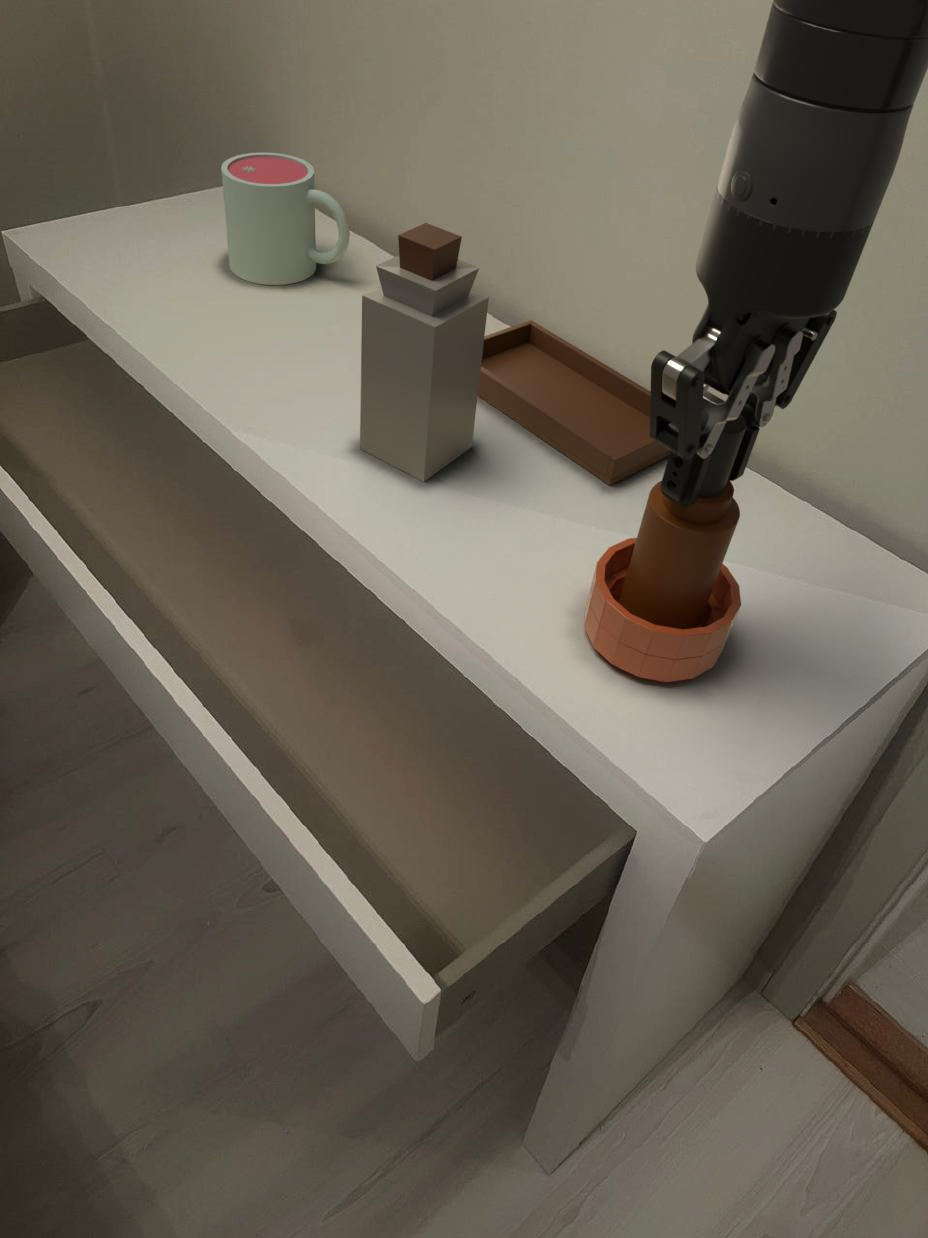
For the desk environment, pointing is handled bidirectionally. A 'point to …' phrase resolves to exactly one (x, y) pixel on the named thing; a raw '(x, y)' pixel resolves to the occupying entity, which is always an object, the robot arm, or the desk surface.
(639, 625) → the bowl
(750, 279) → the robot arm
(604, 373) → the tray
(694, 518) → the bottle
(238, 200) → the mug
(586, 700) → the desk surface
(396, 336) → the perfume bottle
